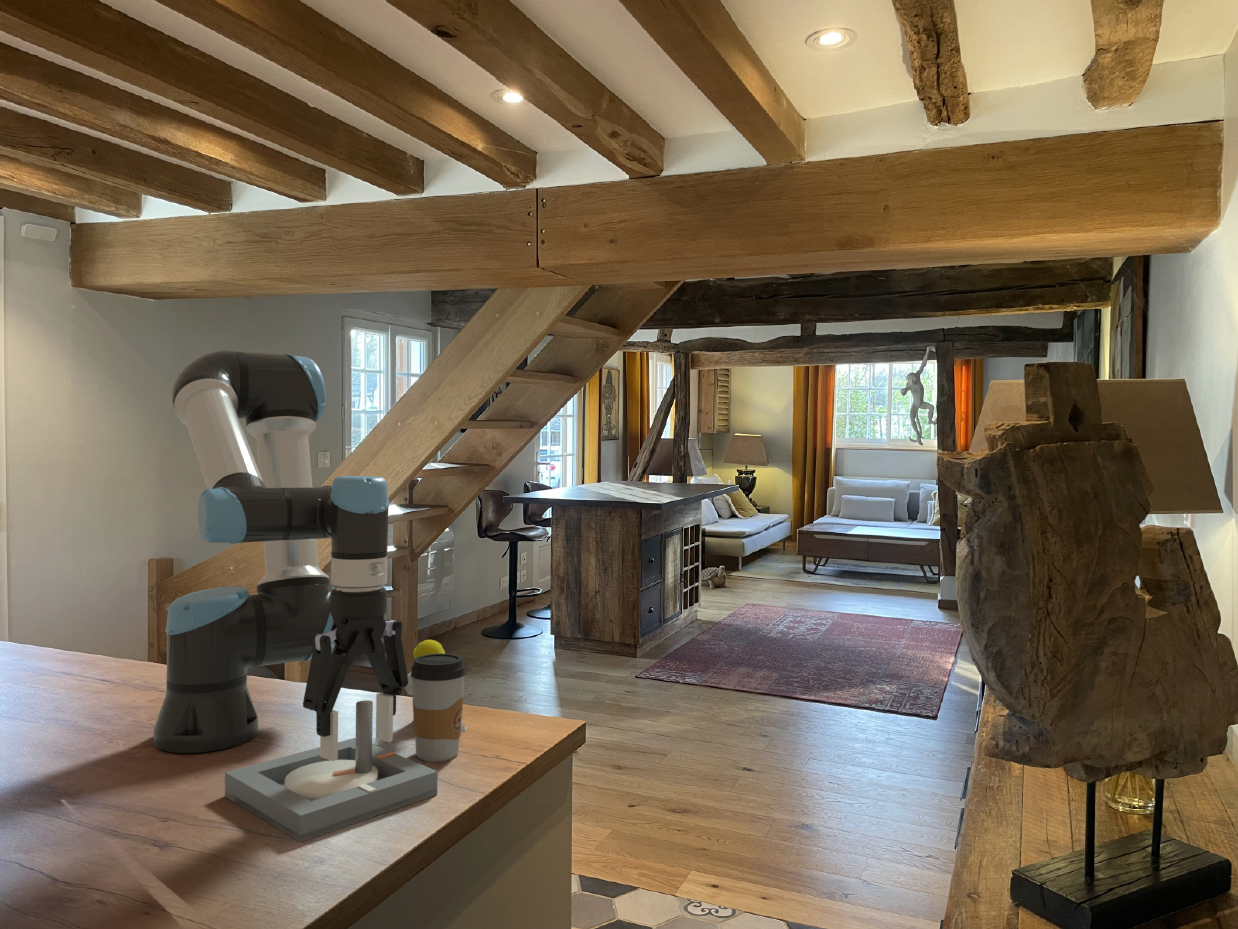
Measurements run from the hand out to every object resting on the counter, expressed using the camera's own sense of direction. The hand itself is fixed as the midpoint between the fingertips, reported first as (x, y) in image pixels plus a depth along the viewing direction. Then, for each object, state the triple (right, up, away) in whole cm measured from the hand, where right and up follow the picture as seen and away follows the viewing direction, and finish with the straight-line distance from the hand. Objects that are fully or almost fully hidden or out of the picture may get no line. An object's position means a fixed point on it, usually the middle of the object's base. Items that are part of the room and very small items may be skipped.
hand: (357, 748), depth 123 cm
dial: (-2, -4, -3) cm, 6 cm away
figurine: (+6, -5, +24) cm, 25 cm away
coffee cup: (+9, -5, +12) cm, 16 cm away
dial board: (-3, -5, -3) cm, 7 cm away
